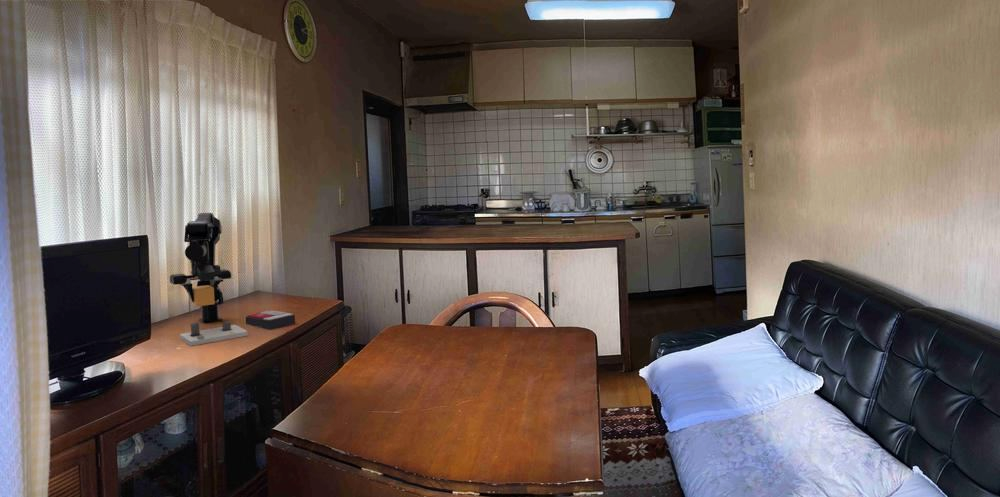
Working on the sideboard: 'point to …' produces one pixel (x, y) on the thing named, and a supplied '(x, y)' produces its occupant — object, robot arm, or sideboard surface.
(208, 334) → the panel
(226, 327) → the lever
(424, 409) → the sideboard surface
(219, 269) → the robot arm
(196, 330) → the breaker
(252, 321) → the calculator
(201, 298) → the light orange cube
